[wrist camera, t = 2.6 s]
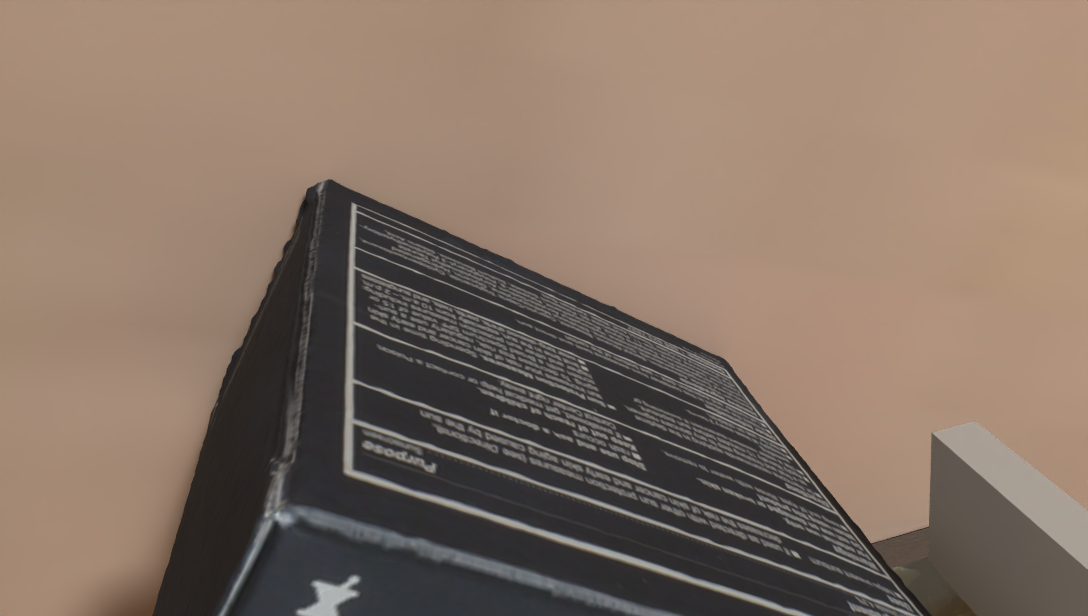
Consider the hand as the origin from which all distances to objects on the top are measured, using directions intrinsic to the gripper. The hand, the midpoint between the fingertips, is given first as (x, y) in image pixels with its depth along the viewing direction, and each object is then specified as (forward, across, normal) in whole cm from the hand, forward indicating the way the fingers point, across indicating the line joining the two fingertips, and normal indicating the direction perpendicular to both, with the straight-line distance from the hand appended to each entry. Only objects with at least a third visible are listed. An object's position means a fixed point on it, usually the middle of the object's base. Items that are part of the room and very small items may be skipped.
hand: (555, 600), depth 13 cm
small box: (+7, 0, 0) cm, 7 cm away
